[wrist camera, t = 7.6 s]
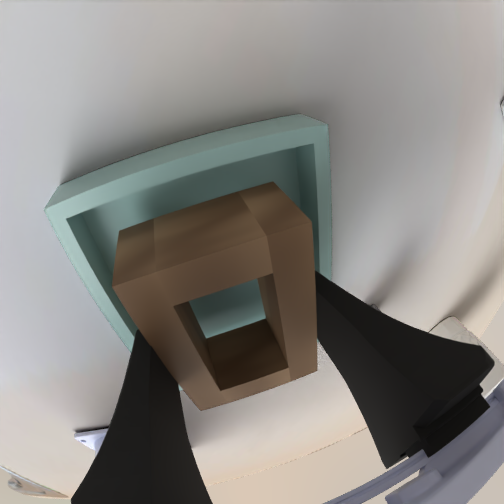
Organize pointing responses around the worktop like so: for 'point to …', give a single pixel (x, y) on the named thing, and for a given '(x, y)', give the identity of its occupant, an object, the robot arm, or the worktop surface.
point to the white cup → (459, 332)
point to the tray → (190, 193)
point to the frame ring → (219, 278)
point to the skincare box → (502, 107)
